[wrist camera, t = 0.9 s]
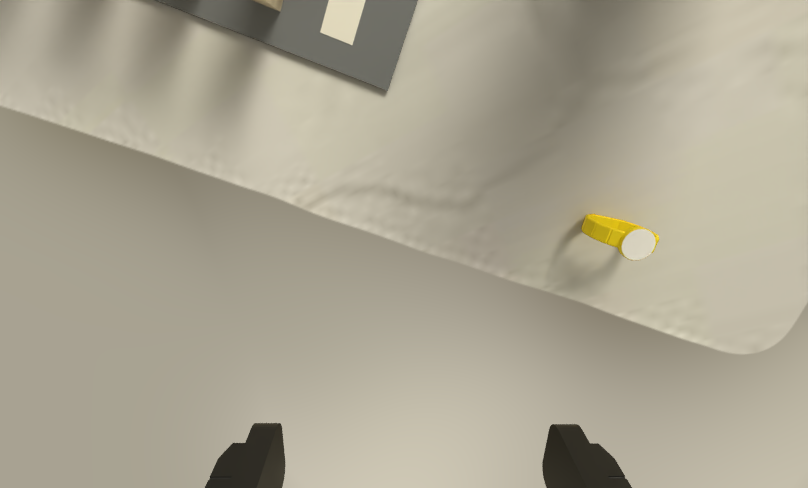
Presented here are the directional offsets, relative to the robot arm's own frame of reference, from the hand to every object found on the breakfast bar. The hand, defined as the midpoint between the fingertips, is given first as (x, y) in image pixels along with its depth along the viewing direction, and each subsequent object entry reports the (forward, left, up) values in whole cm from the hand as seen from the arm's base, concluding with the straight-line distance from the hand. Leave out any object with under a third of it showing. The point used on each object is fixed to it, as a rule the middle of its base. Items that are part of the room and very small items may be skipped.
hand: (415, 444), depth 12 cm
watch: (-5, +19, -27) cm, 33 cm away
